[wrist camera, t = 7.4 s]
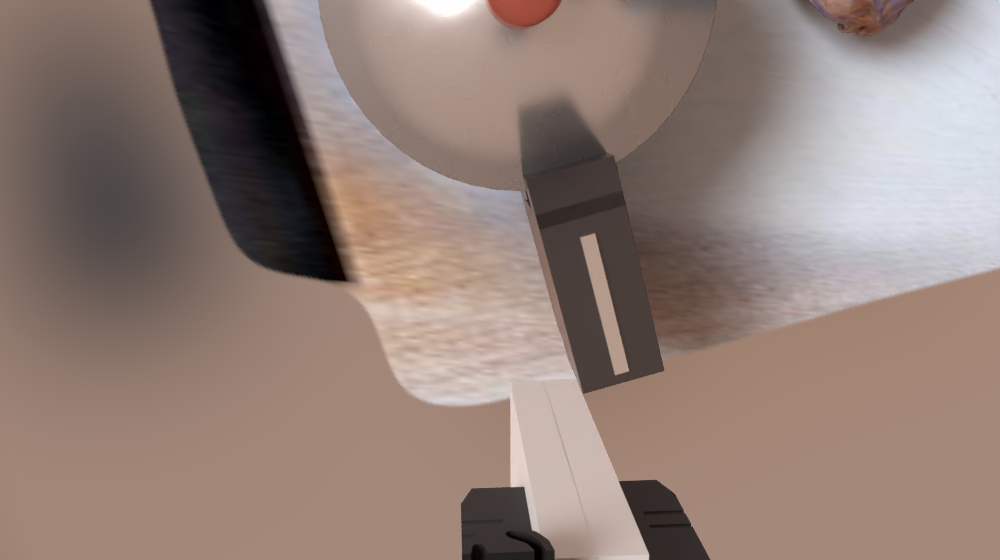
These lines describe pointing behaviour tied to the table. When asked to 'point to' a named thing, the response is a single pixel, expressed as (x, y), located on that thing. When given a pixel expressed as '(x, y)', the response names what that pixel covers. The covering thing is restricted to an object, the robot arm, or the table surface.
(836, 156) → the table surface
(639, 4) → the lid
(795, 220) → the table surface
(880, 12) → the skull
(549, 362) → the table surface
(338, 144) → the table surface
